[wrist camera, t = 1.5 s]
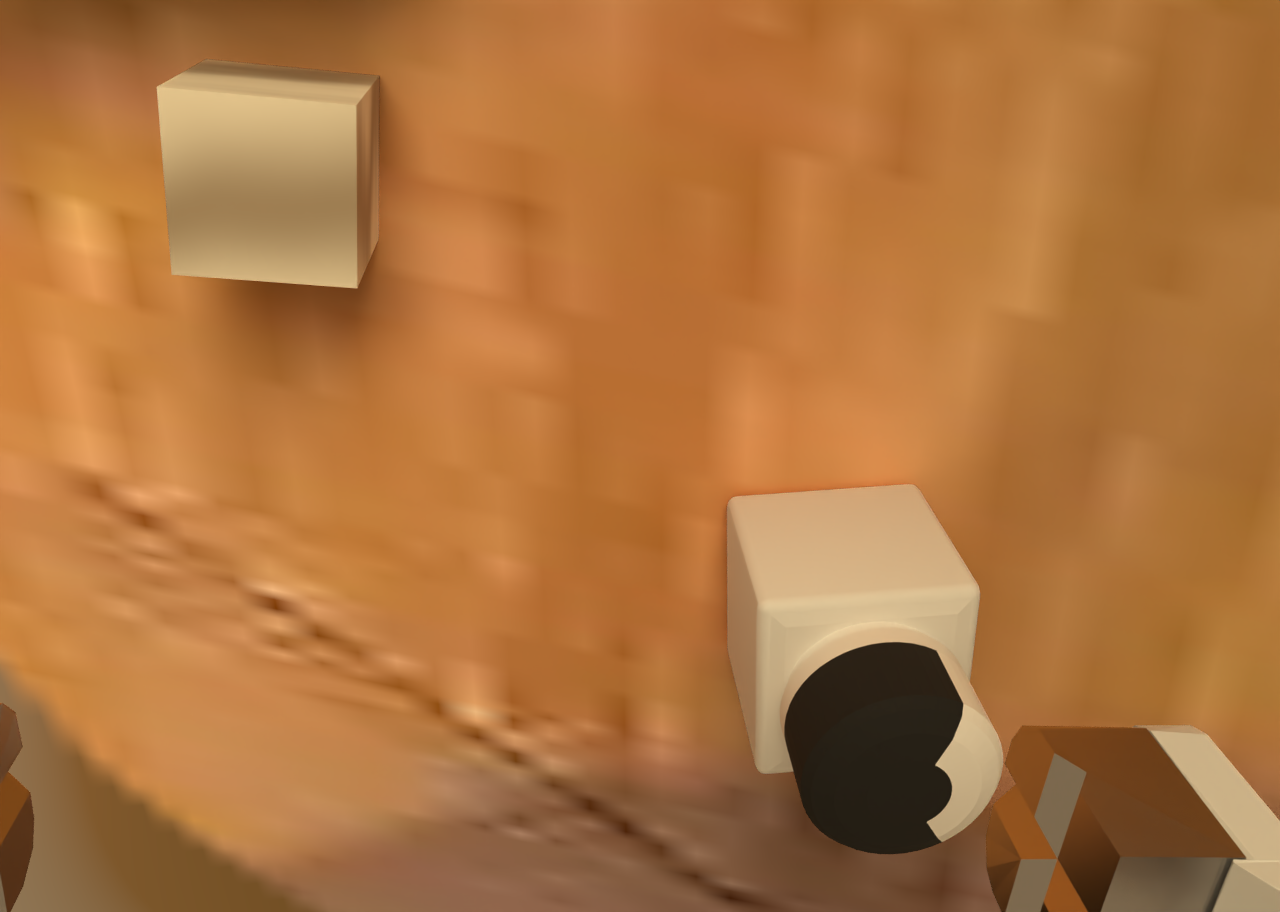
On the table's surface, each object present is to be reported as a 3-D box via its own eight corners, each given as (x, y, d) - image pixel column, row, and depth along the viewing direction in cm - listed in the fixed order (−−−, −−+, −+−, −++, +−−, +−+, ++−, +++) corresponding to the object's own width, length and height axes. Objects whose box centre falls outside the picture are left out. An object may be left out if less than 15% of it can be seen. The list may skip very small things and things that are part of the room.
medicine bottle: (725, 651, 45) (783, 894, 34) (725, 493, 42) (789, 707, 31) (904, 637, 45) (1016, 873, 35) (917, 479, 42) (1046, 686, 31)
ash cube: (206, 58, 34) (156, 86, 29) (380, 75, 34) (356, 105, 30) (217, 224, 36) (171, 274, 31) (379, 237, 36) (357, 288, 32)
